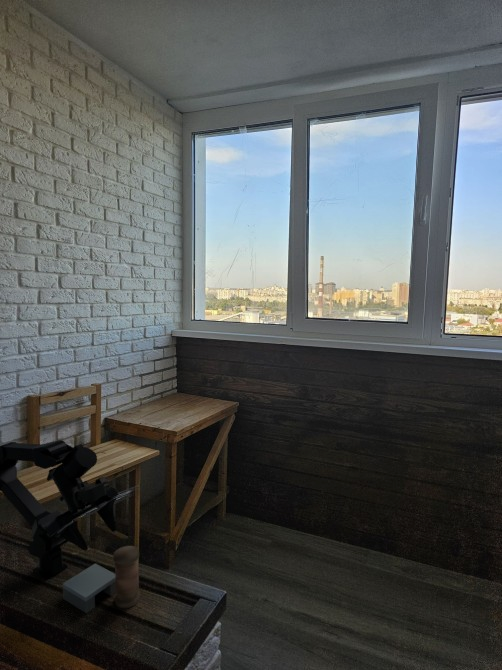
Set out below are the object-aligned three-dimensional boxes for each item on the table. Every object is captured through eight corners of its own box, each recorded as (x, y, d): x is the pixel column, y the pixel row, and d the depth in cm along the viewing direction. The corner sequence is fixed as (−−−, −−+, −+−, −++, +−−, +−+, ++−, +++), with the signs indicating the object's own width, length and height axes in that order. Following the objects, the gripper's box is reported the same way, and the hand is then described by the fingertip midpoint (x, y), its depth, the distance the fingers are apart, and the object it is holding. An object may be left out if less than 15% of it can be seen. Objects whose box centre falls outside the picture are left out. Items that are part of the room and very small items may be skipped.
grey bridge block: (63, 598, 106) (62, 583, 105) (95, 577, 113) (95, 563, 113) (86, 613, 101) (85, 597, 100) (118, 590, 109) (118, 575, 108)
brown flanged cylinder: (109, 602, 104) (107, 555, 103) (129, 587, 109) (127, 543, 108) (126, 611, 101) (124, 563, 100) (145, 596, 106) (144, 550, 105)
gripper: (55, 486, 99) (88, 546, 96) (114, 458, 116) (145, 509, 112) (32, 507, 104) (63, 566, 100) (92, 477, 120) (121, 527, 117)
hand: (101, 540), depth 107 cm, fingers open, 9 cm apart
